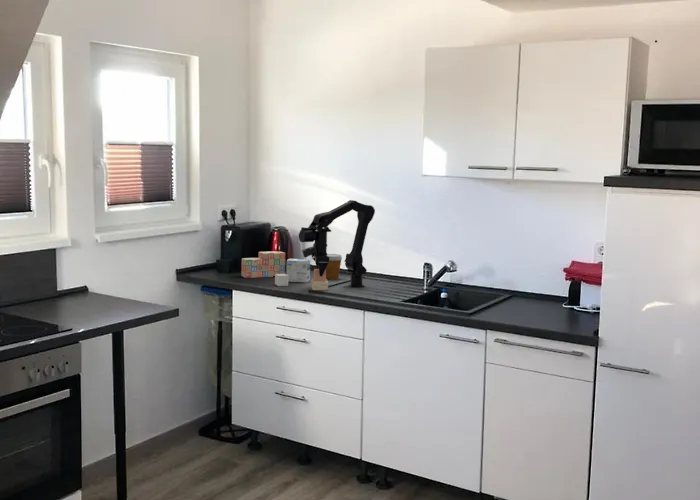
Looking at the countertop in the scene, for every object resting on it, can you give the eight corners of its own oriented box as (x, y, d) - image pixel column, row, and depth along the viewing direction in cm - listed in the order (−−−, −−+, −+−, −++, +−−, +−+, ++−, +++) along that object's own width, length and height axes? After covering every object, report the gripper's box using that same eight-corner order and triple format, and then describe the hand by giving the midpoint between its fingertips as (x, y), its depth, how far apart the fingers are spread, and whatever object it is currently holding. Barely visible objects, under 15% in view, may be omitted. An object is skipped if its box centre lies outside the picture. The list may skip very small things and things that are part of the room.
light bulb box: (310, 280, 381) (310, 259, 380) (307, 282, 375) (307, 261, 373) (289, 279, 383) (289, 257, 382) (285, 281, 377) (286, 259, 375)
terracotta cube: (313, 279, 361) (314, 268, 361) (324, 279, 362) (324, 268, 361) (315, 281, 356) (315, 270, 356) (325, 281, 357) (326, 270, 357)
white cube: (274, 284, 368) (275, 274, 367) (284, 284, 370) (285, 273, 369) (278, 286, 363) (278, 275, 363) (288, 285, 365) (288, 275, 365)
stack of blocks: (245, 278, 383) (245, 253, 381) (241, 276, 388) (241, 252, 387) (285, 276, 392) (285, 252, 391) (280, 274, 398) (281, 250, 396)
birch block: (311, 287, 363) (311, 279, 362) (325, 287, 364) (326, 279, 363) (313, 290, 356) (313, 281, 355) (327, 290, 357) (328, 281, 356)
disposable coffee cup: (335, 276, 395) (336, 253, 394) (345, 279, 387) (345, 256, 385) (319, 277, 390) (320, 254, 389) (328, 280, 382) (329, 256, 381)
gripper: (301, 238, 365) (300, 271, 367) (305, 243, 346) (304, 278, 348) (324, 239, 366) (323, 271, 368) (330, 244, 348) (329, 278, 350)
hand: (319, 274), depth 359 cm, fingers open, 9 cm apart
